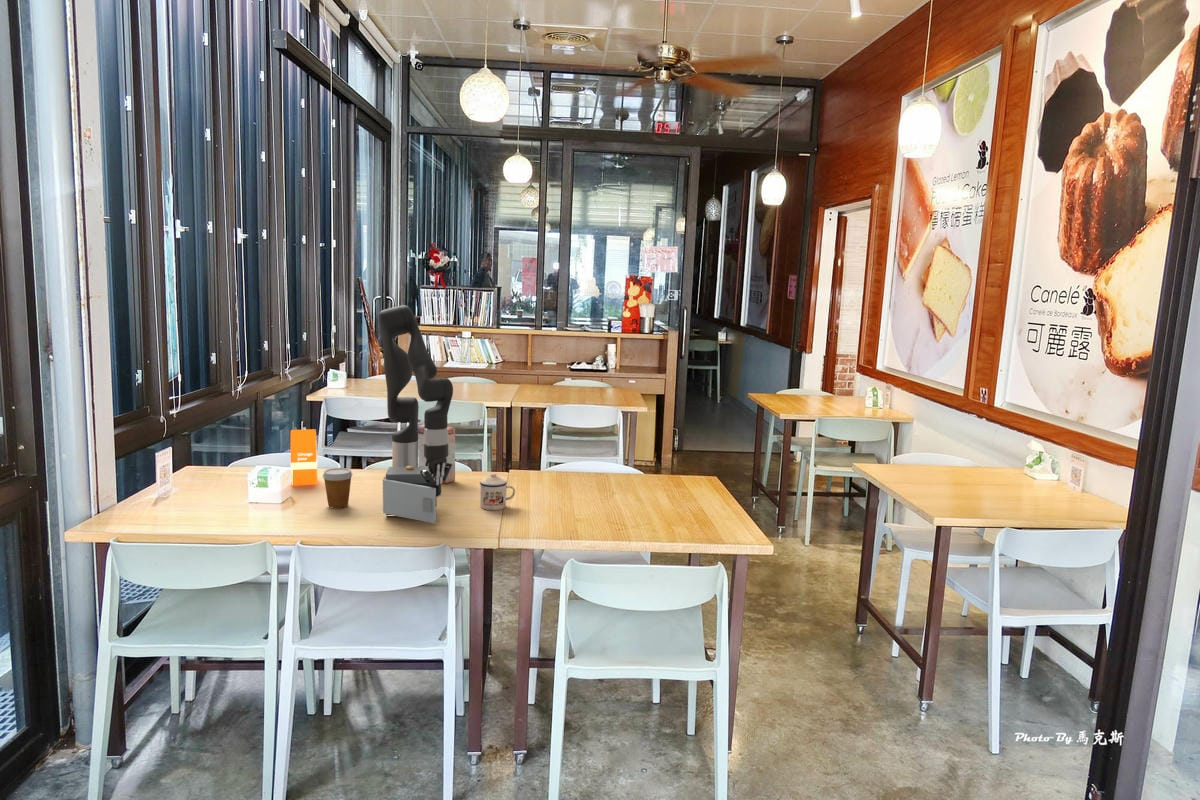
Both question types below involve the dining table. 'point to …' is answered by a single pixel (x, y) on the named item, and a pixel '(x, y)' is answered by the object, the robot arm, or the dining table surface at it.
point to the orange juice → (304, 457)
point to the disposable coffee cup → (337, 486)
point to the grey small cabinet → (407, 476)
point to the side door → (409, 500)
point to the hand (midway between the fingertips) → (436, 495)
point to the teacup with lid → (494, 493)
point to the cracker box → (450, 451)
